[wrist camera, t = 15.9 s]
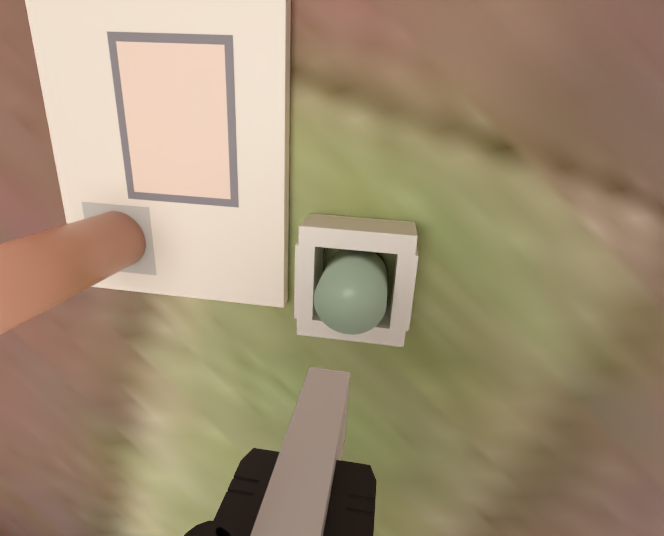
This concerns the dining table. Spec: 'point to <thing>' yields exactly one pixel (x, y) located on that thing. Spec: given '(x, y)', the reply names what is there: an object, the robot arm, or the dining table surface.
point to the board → (175, 135)
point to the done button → (352, 292)
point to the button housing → (362, 238)
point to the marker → (64, 263)
